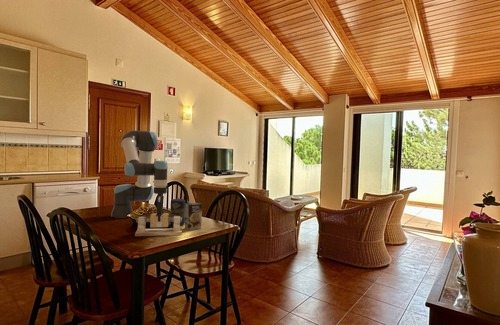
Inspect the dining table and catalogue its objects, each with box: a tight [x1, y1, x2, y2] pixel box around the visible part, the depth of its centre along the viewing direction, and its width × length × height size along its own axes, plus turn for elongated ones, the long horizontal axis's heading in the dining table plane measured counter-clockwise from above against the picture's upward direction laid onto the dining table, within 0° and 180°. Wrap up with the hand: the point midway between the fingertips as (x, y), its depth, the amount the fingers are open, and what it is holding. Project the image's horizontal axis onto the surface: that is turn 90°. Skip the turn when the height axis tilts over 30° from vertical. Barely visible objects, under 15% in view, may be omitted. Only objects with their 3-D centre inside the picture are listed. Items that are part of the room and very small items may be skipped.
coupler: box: [149, 212, 170, 229], centre depth 176 cm, size 6×10×7 cm, turn 103°
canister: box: [169, 197, 186, 226], centre depth 198 cm, size 10×10×18 cm
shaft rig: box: [134, 216, 183, 237], centre depth 176 cm, size 10×26×10 cm, turn 103°
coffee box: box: [184, 202, 203, 231], centre depth 189 cm, size 9×6×16 cm
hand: (159, 225), depth 176 cm, fingers closed on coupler, 6 cm apart
